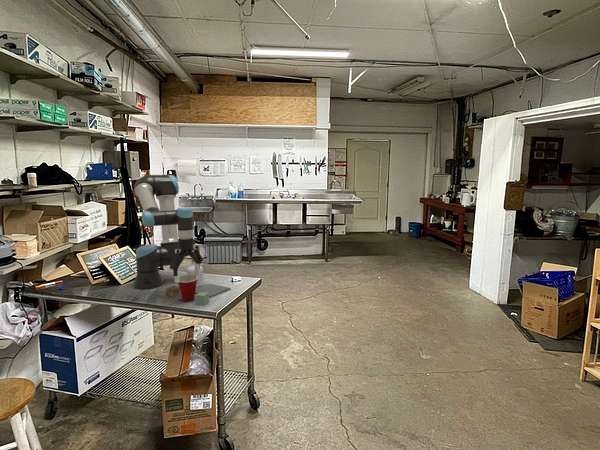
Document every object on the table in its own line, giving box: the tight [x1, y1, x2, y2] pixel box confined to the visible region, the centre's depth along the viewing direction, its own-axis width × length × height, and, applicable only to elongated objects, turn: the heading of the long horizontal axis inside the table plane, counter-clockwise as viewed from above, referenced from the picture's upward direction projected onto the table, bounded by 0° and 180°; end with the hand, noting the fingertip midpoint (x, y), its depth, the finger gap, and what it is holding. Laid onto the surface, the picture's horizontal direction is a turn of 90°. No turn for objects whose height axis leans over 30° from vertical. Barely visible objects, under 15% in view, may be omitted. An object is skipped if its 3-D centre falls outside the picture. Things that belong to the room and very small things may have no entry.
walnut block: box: [165, 285, 181, 299], centre depth 197 cm, size 5×5×5 cm
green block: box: [194, 292, 210, 306], centre depth 186 cm, size 5×5×5 cm
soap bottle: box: [186, 244, 204, 288], centre depth 214 cm, size 9×9×25 cm
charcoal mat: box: [195, 283, 231, 299], centre depth 205 cm, size 16×16×1 cm
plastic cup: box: [177, 274, 198, 302], centre depth 191 cm, size 11×11×12 cm
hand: (187, 278), depth 190 cm, fingers open, 13 cm apart
